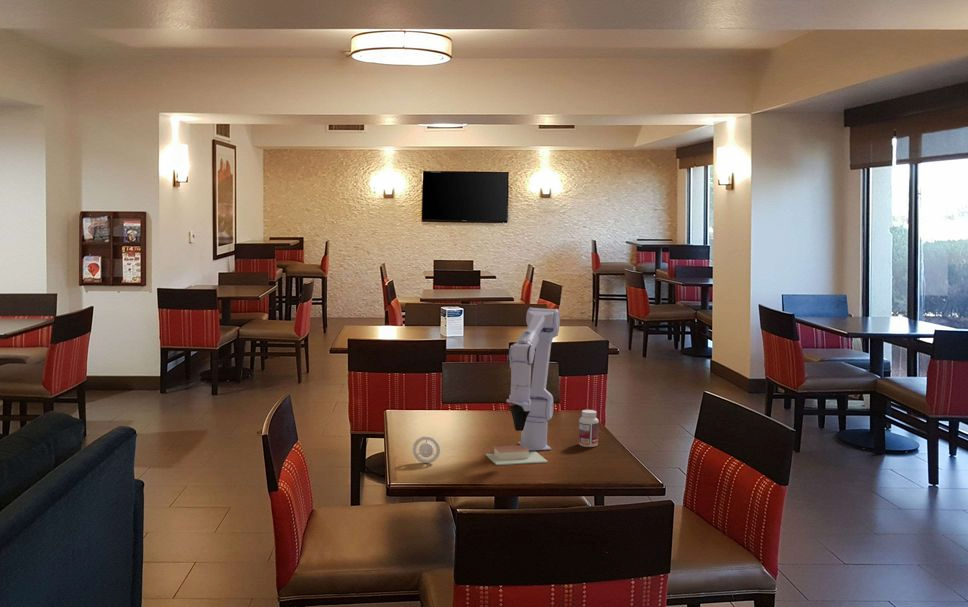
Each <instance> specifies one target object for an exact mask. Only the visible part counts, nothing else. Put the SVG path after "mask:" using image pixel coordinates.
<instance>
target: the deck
mask: <svg viewBox="0 0 968 607" xmlns="http://www.w3.org/2000/svg"><path fill="white" fill-rule="evenodd" d="M493 449H494V450H493V454H494V455H495V456H496V457H498V458H499V459H500V460H503V459H522V458H529V452H530V451H529V450H528V449H527V448H525V447H524V446H523V445H520V444H518V445H504V446H503V445H501V446H500V445H499V446H494V447H493Z"/></svg>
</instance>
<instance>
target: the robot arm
mask: <svg viewBox="0 0 968 607" xmlns="http://www.w3.org/2000/svg"><path fill="white" fill-rule="evenodd" d="M526 311H527V312H526V316H525V321H526V325H527V327H526V328H527V329H525V330H523V331H522V332H521V333H520V335H519V337H518V339H517V341H516V343H513V344H511V345H510V347H509V351H508V359H509V368H510V369H509V370H511V371H510V372H511V373H510V374H511V376H510V394H509V398H506V403H509V404H513V405H509V406H508V408H509V411H510V412H511V416H512V420H513V426H514V429H515V431H517V432H519V431H520V441H518V442H517V444H518V445H523V446H524V447H525V448H527V449H528V450H529V452H533V451H549V450H550V451H551V450H552V447H550V446H549V445H548V422H549V421H550V420H551V419H552V418H553V415H554V409H555V408H554V396H553V394H552V393H551V392H550V391H548V390H547V384H548V382H547V381H548V374H549V366H550V359H551V358H550V357H551V348H552V343H553V339H555V338H556V337H558V335H559V332H560V325H561V324H560V323H561V312H560V310H559V309H558V308H540V307H539V308H538V307H532V306H531V307H529V308H528V309H527V310H526ZM532 364H533V367H532ZM532 368H533V369H532ZM531 376H532V377H531Z"/></svg>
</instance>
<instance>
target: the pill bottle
mask: <svg viewBox="0 0 968 607" xmlns="http://www.w3.org/2000/svg"><path fill="white" fill-rule="evenodd" d="M599 423H600V422H599V419H598V418H597V410H593V409H583V410H581V417H580V418H579V420H578V445H580V446H581V447H584V448H594V447H597V446H598V444H599Z"/></svg>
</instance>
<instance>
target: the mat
mask: <svg viewBox="0 0 968 607" xmlns="http://www.w3.org/2000/svg"><path fill="white" fill-rule="evenodd" d="M485 456H486V457H487V458H488V459H489V460H490V461H491V462H492V463H493V464H494V465H495V466H504V465H505V466H507V465H508V466H509V465H527V464H544V463H548V462H549V461H548V460H547V459H546V458H545V457H544V456H542V455H541V454H539V453H538V452H537V451H529V458H522V459H503V460H500V459H499V458H498V457H496V456H495V455H494V453H486V454H485Z"/></svg>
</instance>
